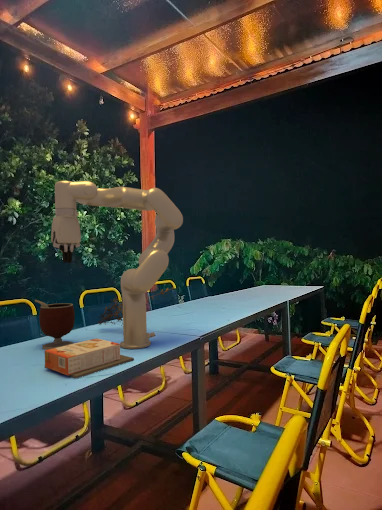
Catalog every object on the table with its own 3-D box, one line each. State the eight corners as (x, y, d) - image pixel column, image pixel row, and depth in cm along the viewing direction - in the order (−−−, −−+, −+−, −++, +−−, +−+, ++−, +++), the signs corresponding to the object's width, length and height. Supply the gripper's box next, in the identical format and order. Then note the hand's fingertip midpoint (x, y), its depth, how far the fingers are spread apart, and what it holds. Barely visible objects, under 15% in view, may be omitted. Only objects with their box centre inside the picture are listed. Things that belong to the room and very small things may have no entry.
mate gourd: (74, 340, 159) (73, 295, 159) (76, 348, 146) (75, 299, 146) (36, 344, 153) (35, 298, 153) (35, 352, 140) (33, 301, 140)
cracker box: (43, 349, 118) (96, 337, 134) (44, 367, 118) (97, 353, 134) (67, 356, 109) (121, 342, 125) (67, 376, 109) (121, 360, 125)
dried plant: (69, 297, 173) (137, 257, 154) (113, 295, 200) (176, 261, 181) (86, 359, 165) (160, 324, 146) (129, 348, 192) (197, 318, 173)
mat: (101, 352, 139) (101, 349, 139) (133, 360, 127) (133, 357, 127) (44, 367, 121) (44, 365, 121) (76, 378, 109) (76, 376, 109)
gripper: (77, 216, 144) (79, 262, 144) (42, 213, 132) (43, 263, 132) (88, 214, 139) (90, 261, 139) (52, 211, 127) (54, 263, 127)
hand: (67, 262), depth 136 cm, fingers closed
